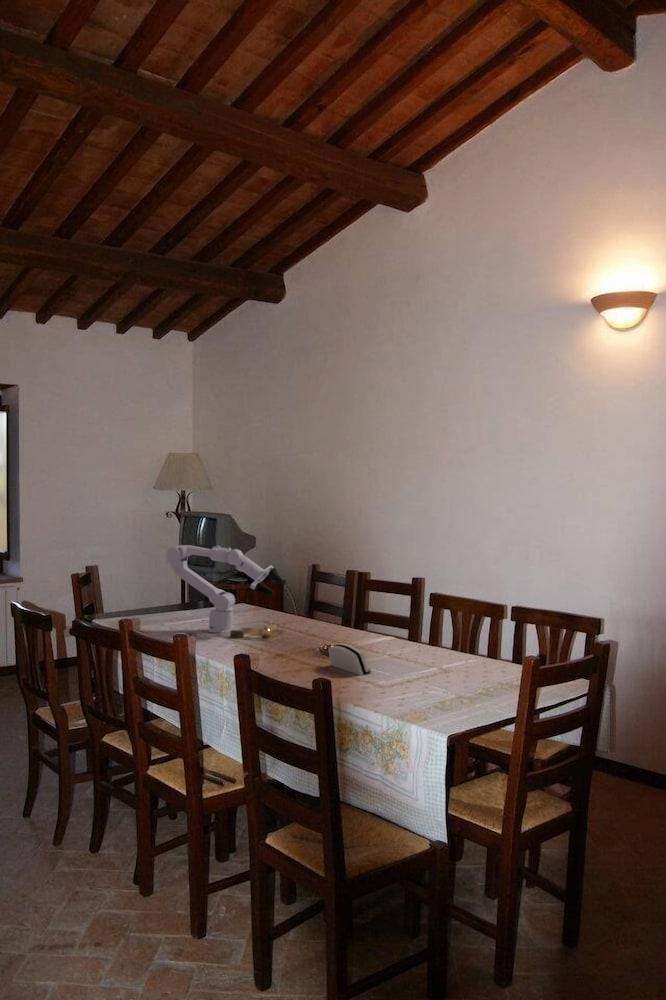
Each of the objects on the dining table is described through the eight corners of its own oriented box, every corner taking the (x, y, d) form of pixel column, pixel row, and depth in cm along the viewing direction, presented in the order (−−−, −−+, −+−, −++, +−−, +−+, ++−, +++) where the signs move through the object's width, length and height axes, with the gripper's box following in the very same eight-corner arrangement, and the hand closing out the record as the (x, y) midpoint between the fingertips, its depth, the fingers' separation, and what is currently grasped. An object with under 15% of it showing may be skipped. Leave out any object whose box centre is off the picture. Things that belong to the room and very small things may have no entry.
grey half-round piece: (372, 673, 283) (365, 647, 281) (362, 679, 280) (354, 653, 278) (342, 663, 296) (335, 638, 294) (332, 669, 294) (325, 643, 291)
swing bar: (268, 637, 329) (269, 628, 329) (261, 636, 330) (261, 628, 330) (277, 630, 343) (277, 622, 343) (269, 630, 344) (269, 621, 344)
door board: (225, 641, 327) (226, 632, 327) (242, 630, 350) (242, 621, 350) (273, 644, 324) (273, 635, 324) (286, 633, 347) (286, 624, 347)
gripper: (244, 573, 335) (271, 593, 333) (264, 554, 346) (290, 573, 343) (240, 583, 340) (266, 603, 338) (259, 564, 350) (285, 583, 348)
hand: (278, 589), depth 341 cm, fingers open, 7 cm apart
